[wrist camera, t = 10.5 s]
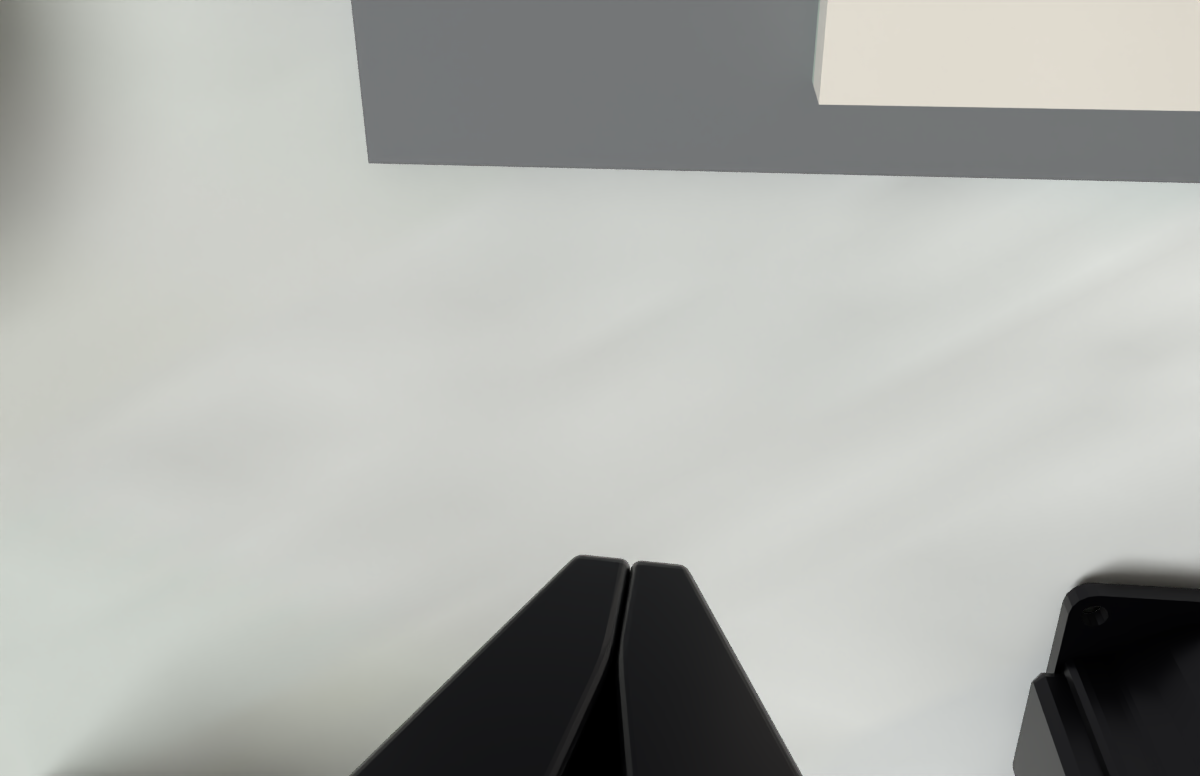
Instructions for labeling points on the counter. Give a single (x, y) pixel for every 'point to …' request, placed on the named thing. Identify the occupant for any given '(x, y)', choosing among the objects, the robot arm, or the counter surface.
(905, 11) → the sage tile
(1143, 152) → the slate mat
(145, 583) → the counter surface
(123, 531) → the counter surface
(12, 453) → the counter surface
